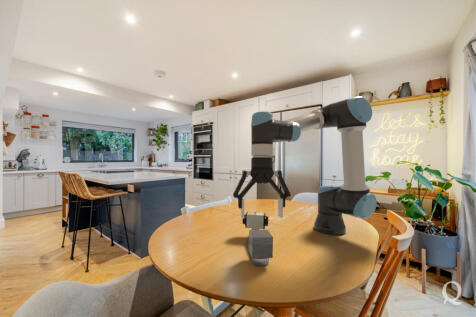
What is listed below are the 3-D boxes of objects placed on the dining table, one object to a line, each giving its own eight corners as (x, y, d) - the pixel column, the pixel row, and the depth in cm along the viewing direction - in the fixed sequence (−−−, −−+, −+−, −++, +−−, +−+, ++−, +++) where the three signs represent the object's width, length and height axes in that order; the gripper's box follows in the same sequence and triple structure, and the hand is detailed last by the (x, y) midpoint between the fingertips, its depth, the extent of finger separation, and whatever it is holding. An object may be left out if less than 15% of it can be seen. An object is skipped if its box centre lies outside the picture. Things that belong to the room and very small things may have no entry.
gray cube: (267, 248, 74) (267, 229, 74) (272, 257, 67) (273, 237, 67) (248, 249, 73) (248, 230, 73) (252, 258, 66) (252, 237, 66)
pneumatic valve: (267, 240, 90) (268, 213, 90) (241, 237, 92) (242, 211, 92) (268, 235, 95) (268, 210, 95) (244, 233, 97) (244, 208, 97)
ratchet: (258, 241, 87) (258, 225, 88) (270, 266, 68) (271, 245, 68) (244, 242, 87) (244, 226, 87) (253, 266, 67) (253, 245, 67)
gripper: (291, 157, 76) (291, 213, 76) (226, 156, 73) (225, 215, 73) (300, 156, 68) (300, 219, 68) (227, 156, 65) (227, 221, 65)
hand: (261, 217), depth 71 cm, fingers open, 13 cm apart
